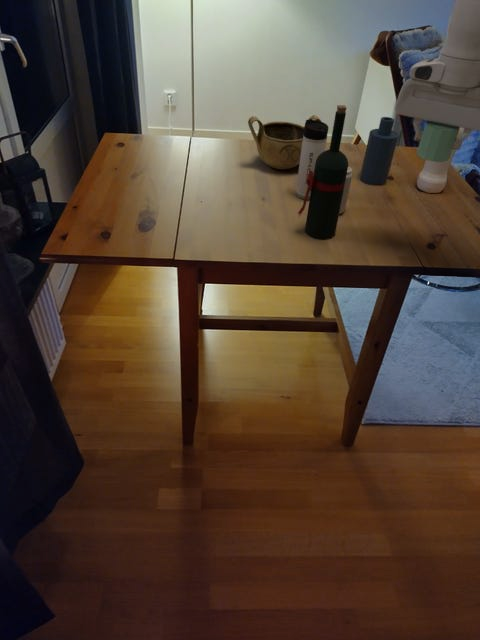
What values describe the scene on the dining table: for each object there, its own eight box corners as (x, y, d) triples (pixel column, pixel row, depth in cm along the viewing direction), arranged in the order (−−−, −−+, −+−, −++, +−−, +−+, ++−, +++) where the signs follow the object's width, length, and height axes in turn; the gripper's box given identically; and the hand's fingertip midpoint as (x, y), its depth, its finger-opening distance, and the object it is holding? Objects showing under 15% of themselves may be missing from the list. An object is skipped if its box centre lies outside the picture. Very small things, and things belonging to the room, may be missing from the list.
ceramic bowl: (253, 178, 138) (256, 127, 129) (240, 156, 151) (242, 108, 141) (322, 174, 143) (331, 124, 133) (304, 153, 155) (311, 106, 145)
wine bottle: (293, 223, 119) (309, 100, 99) (331, 223, 120) (355, 101, 100) (298, 239, 113) (316, 111, 93) (338, 239, 114) (365, 112, 94)
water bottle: (389, 178, 142) (405, 118, 130) (380, 187, 137) (397, 125, 125) (365, 172, 145) (378, 112, 134) (355, 180, 140) (369, 119, 128)
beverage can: (321, 203, 128) (328, 161, 120) (344, 206, 127) (353, 164, 119) (320, 214, 123) (327, 171, 115) (344, 217, 123) (353, 174, 115)
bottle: (449, 190, 138) (488, 81, 118) (430, 196, 134) (468, 84, 114) (427, 180, 143) (462, 73, 123) (409, 185, 139) (442, 76, 120)
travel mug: (306, 188, 135) (316, 117, 122) (322, 196, 131) (334, 124, 118) (290, 193, 132) (299, 121, 119) (305, 202, 128) (316, 128, 115)
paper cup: (452, 154, 100) (462, 123, 95) (444, 164, 95) (455, 132, 91) (422, 147, 102) (431, 117, 98) (413, 157, 98) (422, 125, 94)
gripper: (519, 78, 86) (490, 151, 95) (412, 60, 94) (394, 130, 103) (514, 85, 82) (485, 160, 91) (402, 66, 90) (385, 138, 99)
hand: (436, 144), depth 97 cm, fingers closed on paper cup, 6 cm apart
